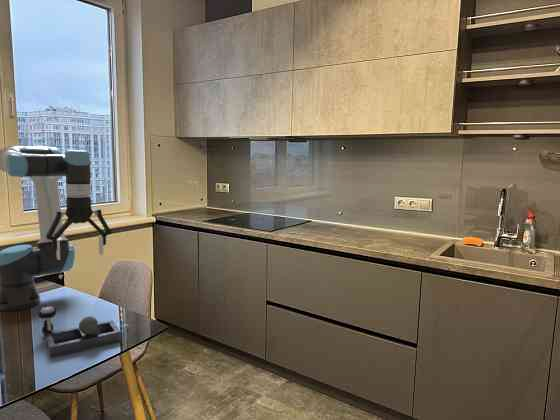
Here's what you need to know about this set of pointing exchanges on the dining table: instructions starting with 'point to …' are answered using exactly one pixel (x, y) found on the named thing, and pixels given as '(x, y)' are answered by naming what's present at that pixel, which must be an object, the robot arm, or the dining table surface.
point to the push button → (47, 319)
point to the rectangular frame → (81, 339)
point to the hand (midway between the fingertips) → (80, 256)
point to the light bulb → (89, 326)
